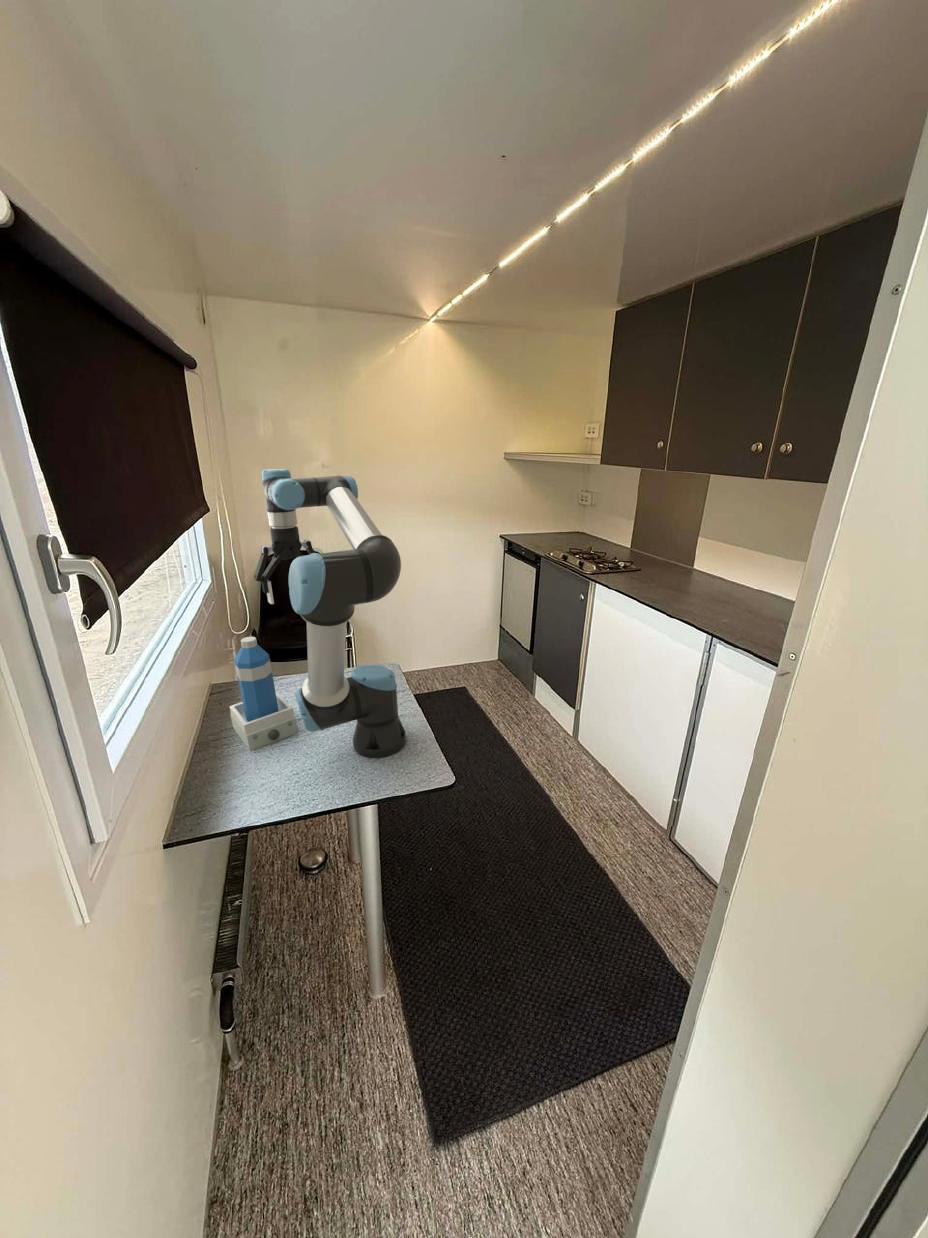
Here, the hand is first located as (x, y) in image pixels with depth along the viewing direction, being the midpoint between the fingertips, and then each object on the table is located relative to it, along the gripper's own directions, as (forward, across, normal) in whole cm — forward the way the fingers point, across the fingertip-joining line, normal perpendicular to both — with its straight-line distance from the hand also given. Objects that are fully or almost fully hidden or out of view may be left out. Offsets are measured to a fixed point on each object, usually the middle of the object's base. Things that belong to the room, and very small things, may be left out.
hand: (294, 598), depth 142 cm
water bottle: (+34, +15, +1) cm, 37 cm away
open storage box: (+39, +15, +1) cm, 42 cm away
